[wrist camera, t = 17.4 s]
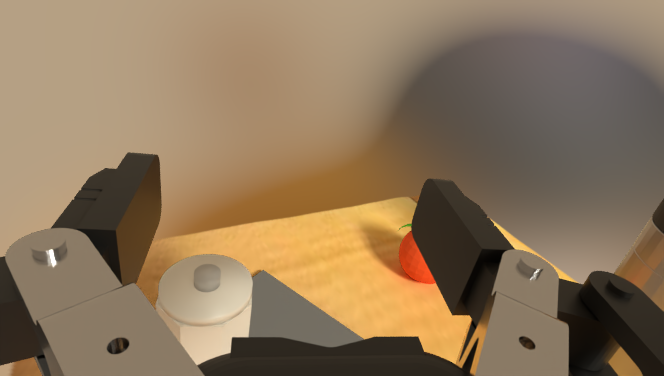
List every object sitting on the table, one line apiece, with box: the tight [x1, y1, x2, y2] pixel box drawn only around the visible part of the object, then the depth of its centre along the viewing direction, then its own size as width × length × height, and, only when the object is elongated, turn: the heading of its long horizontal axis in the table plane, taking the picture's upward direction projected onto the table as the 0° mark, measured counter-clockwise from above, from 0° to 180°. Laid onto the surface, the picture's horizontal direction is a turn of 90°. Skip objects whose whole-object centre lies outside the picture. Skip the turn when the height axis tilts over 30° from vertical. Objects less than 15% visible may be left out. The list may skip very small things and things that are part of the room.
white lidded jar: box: [156, 254, 253, 365], centre depth 31 cm, size 6×6×11 cm
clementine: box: [399, 224, 436, 284], centre depth 49 cm, size 8×7×7 cm
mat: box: [248, 270, 364, 347], centre depth 35 cm, size 17×18×1 cm
